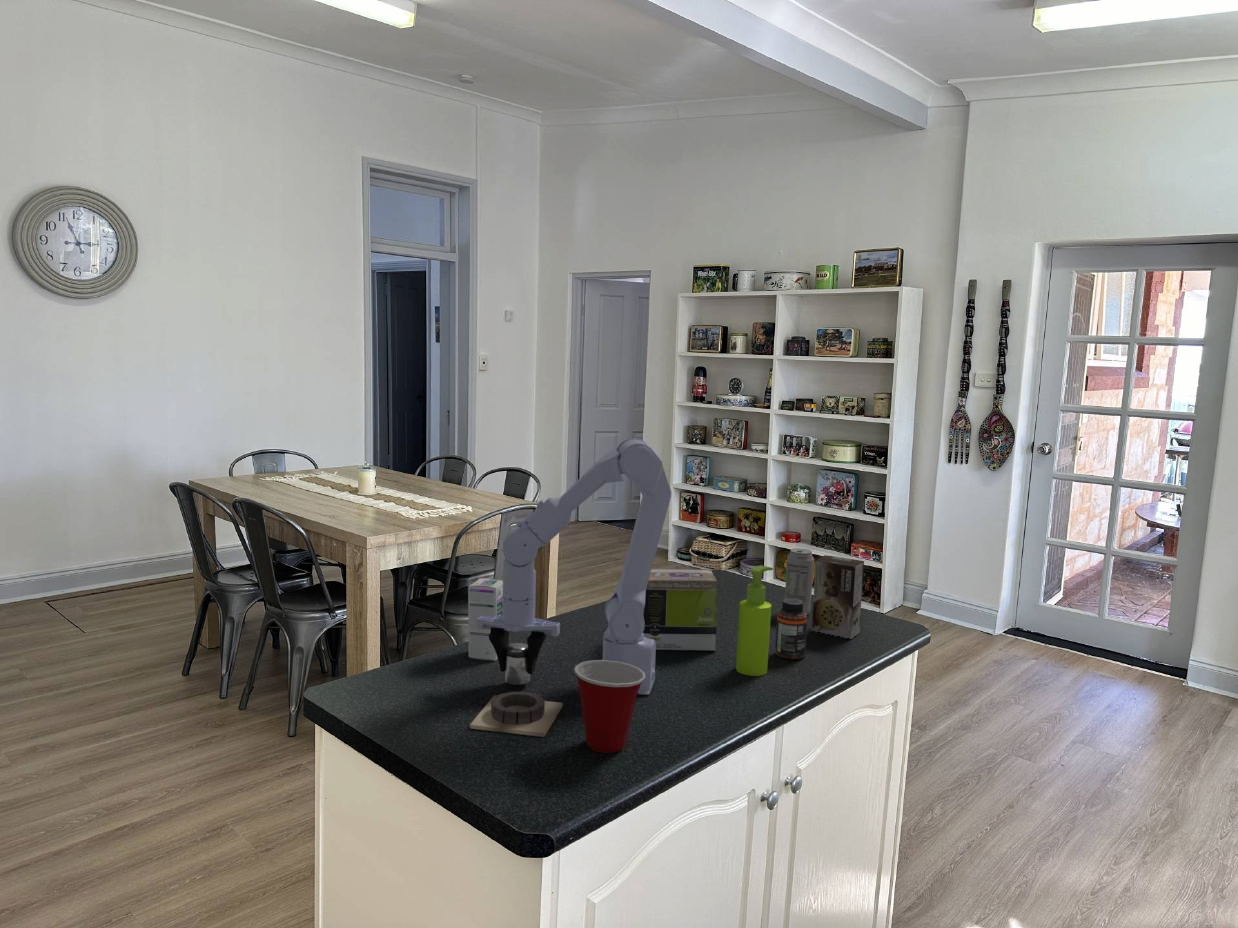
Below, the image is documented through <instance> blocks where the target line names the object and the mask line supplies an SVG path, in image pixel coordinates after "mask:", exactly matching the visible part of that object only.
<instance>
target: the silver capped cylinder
mask: <svg viewBox="0 0 1238 928" xmlns="http://www.w3.org/2000/svg"><path fill="white" fill-rule="evenodd" d="M530 680H531V674H528V644H527V643H522V642H515V643H510V644H509V643H508V645H507V646H506V647H505V671H504V681H505V682H506V683H507V684H509V685H510V684H511V685H515V686H516V685H517V686H519V685H526V684H527V683H529V682H530Z"/></svg>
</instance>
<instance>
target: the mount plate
mask: <svg viewBox="0 0 1238 928" xmlns="http://www.w3.org/2000/svg"><path fill="white" fill-rule="evenodd" d="M562 708H563V702H559V701H558V702H557V701H546V700H544V698H543V696H541V695H539V694H536V693H534V692H530V691H521V690H519V691H517V690H516V691H508V692H506V693H505V692H503V693H500V694H498V695H492V698H491V699H490V700H489V701H488V702H487V703H486V705H485V706H484V707H483V709H481V711H480V712H479V713H478V714H477V715H476V717H475V718H474V719H473V720H472V721H471V723H470V724H469V729H472V730H481V731H488V732H489V731H490V732H498V733H506V734H514V735H515V734H516V735H523V736H524V735H525V736H533V737H542V738H545V736H546V735H547V733H548V731H549V729H550V727H551V726H552V724H553V722H554V721H555V720H556V718H557V716H558V715H559V713H560V711H561V710H562Z"/></svg>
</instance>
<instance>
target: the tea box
mask: <svg viewBox="0 0 1238 928" xmlns="http://www.w3.org/2000/svg"><path fill="white" fill-rule="evenodd" d="M718 583H719V582H718V580H717V578H716V577H715V575H714V573H713V572H712V569H699V568H698V569H697V568H695V569H693V568H692V569H691V568H689V569H688V568H687V569H686V568H685V569H684V568H683V569H682V568H652V569H651V572H650V576H649V580H648V583H647V587H646V595H645V607H644V611H643V617H644V621H645V627H644V631H643V634H644V637H646V638H649V639H653V640H655V642H656V651H657V650H658V651H661V650H662V651H712V652H714V651H716V650H717V649H716V647H717V625H718V624H717V621H718V595H719V593H718V592H719V591H718V587H719V586H718V585H719V584H718Z"/></svg>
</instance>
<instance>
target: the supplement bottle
mask: <svg viewBox="0 0 1238 928" xmlns="http://www.w3.org/2000/svg"><path fill="white" fill-rule="evenodd" d="M775 628H776V629H775V630H776V632H775V646H774V647H775V648H774V649H775V655H776V656H777V657H778V658H780V659H781V658H782V659H785V660H789V659H791V660H790V661H793V660H794V659H796V660H801V659H803V658H804V657H805V656H806V647H807V646H806V645H807V644H806V643H807V641H806V640H807V630H808V629H807V628H808V616H807V614H806V613H805V612H804V611H803V601H801V600H798V599H792V598H788V599H785V598H784V599H783V600H782V607H781V609H779V610H778V611H777V614H776V627H775ZM794 661H795V660H794Z"/></svg>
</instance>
